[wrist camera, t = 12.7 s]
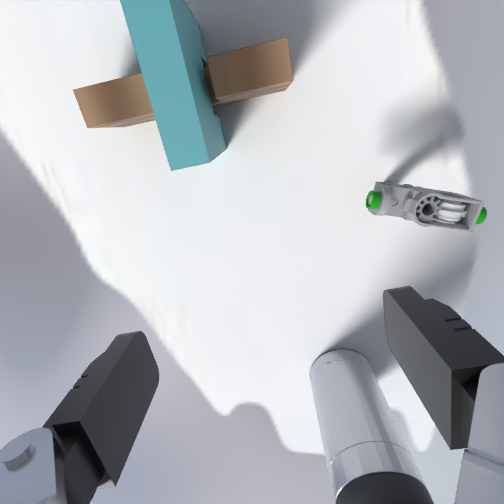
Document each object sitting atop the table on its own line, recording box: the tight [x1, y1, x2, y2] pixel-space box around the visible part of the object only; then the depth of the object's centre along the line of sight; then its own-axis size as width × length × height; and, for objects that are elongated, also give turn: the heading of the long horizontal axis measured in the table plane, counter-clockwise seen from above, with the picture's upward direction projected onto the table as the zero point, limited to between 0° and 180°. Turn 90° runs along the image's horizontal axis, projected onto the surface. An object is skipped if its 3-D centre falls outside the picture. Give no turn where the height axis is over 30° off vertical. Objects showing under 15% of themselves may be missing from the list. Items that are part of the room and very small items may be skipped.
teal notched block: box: [120, 0, 227, 171], centre depth 27 cm, size 12×3×13 cm, turn 12°
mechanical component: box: [366, 181, 487, 231], centre depth 31 cm, size 3×10×10 cm, turn 82°
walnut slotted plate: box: [73, 37, 293, 128], centre depth 29 cm, size 18×3×8 cm, turn 102°
